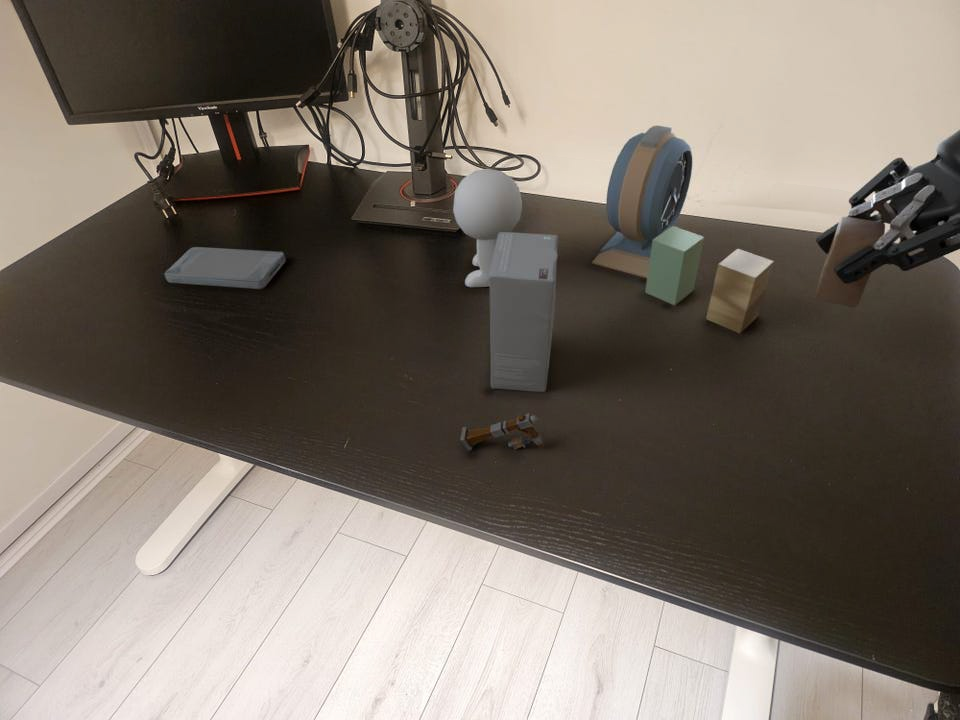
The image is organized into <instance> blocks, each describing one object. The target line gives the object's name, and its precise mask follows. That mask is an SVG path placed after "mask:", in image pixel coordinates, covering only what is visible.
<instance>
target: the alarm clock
mask: <svg viewBox="0 0 960 720" xmlns="http://www.w3.org/2000/svg"><path fill="white" fill-rule="evenodd" d="M672 129H673V128H672V127H669V126H662V125H653V126H651V127H649V128H648V130H646V132H640V133H638V134H635V135H634V136H632V137H630V138H629V139H628V140H627V141H626V143H624V145H623V147H622V149H621V150H620V152H619V154H618V155H617V158H616V160H615V162H614V165H613V167H612V171H611V174H610V177H609V181H608V186H607V192H606V202H605V203H606V206H605V207H606V215H607V221H608V222H609V225H610V226H611V227H612V228H613V230H615V231H616V232H615V234H614V235H613V236H611V238H610V239H609V240H608V241H607V242H606V244H604V246H602V248H601V249H599V253H598V254H597V256H596V257H595V258H594V259H593V260H592V262H591V264H593V265H597V266H600V267H604V268H608V269H612V270H616V271H619V272H622V273H625V274H629V275H633V276H637V277H641V278H645V279H647V277H648V270H649V263H650V256H651V249H652V242H653V239H654V238H656V237H657V236H659V235H660V234H662V233H663V232H665V231H666V230H668V229H669V228H670V227H672V226H675V225H676V223H677V222H678V219H679V217H680V215H681V212H682V210H683V207H684V205H685V201H686V199H687V195H688V191H689V188H690V183H691V180H692V179H691V178H692V173H693V154H692V148H691V146H690V145H689V144H688V143H687V141H685V140H684V139H682V138H679V137H677V136H676V135H675V133H673V132H672Z"/></svg>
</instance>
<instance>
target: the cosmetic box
mask: <svg viewBox="0 0 960 720" xmlns="http://www.w3.org/2000/svg"><path fill="white" fill-rule="evenodd" d="M558 239H559V237H558V235H556V234H543V233H529V232H528V233H527V232H526V233H525V232H513V231H512V232H499V233H498V237H497V241H496V245H495V249H494V253H493V258H492V262H491V267H490V272H489V280H490V286H489V325H490V326H489V330H490V331H489V335H490V336H489V342H490V343H489V344H490V349H489V350H490V360H489V361H490V387H491V389H493V390H507V391H508V390H510V391H522V392H523V391H525V392H537V393H539V392H541V393H544V392H545V393H546V391H547V384H548V374H549V366H550V360H551V359H550V358H551V350H552V349H551V348H552V337H553V330H554V329H553V328H554V321H555V320H554V319H555V309H556V288H557V287H556V286H557V285H556V284H557V283H556V282H557V281H556V280H557V261H558V260H557V259H558V257H559V256H558Z"/></svg>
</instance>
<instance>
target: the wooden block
mask: <svg viewBox="0 0 960 720" xmlns="http://www.w3.org/2000/svg"><path fill="white" fill-rule="evenodd" d="M838 222H839V224H838V227H837V230H836V232H835V235H834V238H833V241H832V244H831V247H830V250H829V252H828V254H827V255H826V257H825V261H824V264H823V267H822V270H821V273H820V277H819V279H818V283H817V287H816V292H815V299H816V300H817V301H821V302H825V303H831V304H836V305H840V306H846V307H851V308H856V307H857V306H858V305H859V304H860V302H861V298H862V296H863V294H864V291H865V289H866V288H867V284H868V283H869V279H870V276H871V275H872V272H871V273H869V274H867V275H866V276H864V277H863V278H861V279H859V280H858V281H855V282H851V283H849V284H845V283H843V281H842V280H841V279H840V278H839V277H838V276H837V274H836V273H835V271H834V268H835V267H836V266H837V265H838V264H840V263H842V262H843V261H845V260H846V259H848V258H850V257H851V256H853V255H854V254H856V253H858V252H859V251H861V250H862V249H864V248H865V247H867V246H869V245H870V246H871V247H872V248H874V247H873V246H874V244H875V243H876V242H877V241H878V240H879V239H880V238H881V237H882V236H883V235H884V234H885V233H886V223H882V222H877V221H870V220H863V219H857V218H850V217H847V216H842V217H841V218H840V219H839V221H838Z"/></svg>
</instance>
